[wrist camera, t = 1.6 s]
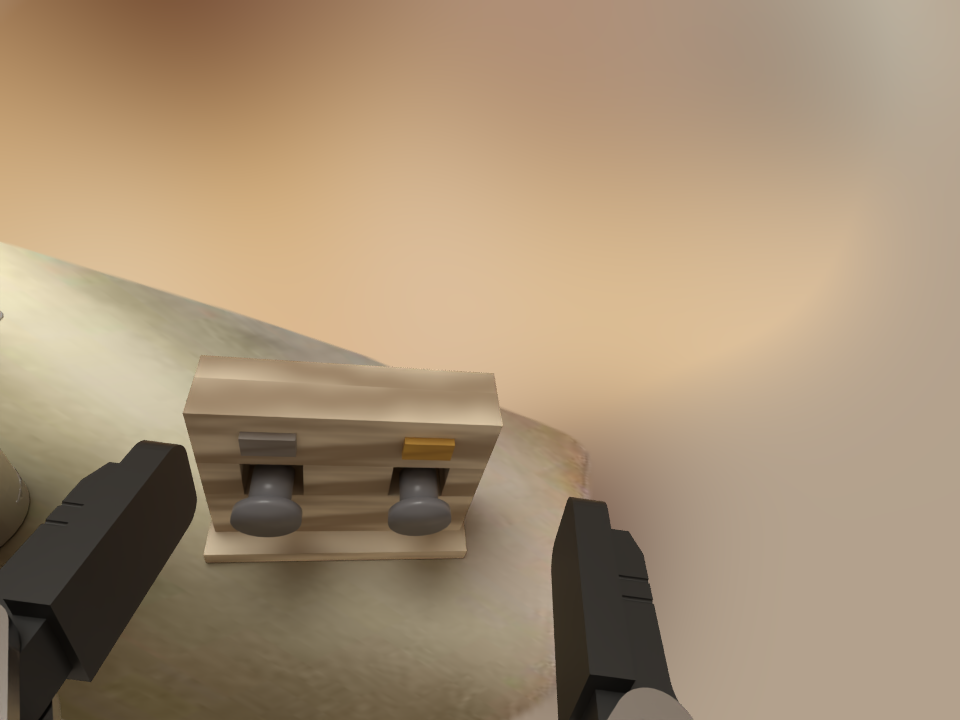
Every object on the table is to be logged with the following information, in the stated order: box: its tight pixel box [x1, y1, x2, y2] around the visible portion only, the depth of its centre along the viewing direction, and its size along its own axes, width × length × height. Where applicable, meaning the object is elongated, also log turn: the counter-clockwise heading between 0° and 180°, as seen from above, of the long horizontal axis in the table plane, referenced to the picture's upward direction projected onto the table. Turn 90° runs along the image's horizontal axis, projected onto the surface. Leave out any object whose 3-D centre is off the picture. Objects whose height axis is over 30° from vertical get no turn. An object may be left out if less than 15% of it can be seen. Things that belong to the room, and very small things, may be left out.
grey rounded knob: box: [388, 467, 451, 536], centre depth 43 cm, size 4×5×5 cm
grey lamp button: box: [230, 464, 303, 537], centre depth 41 cm, size 4×5×5 cm
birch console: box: [183, 355, 503, 563], centre depth 45 cm, size 8×22×18 cm, turn 97°
